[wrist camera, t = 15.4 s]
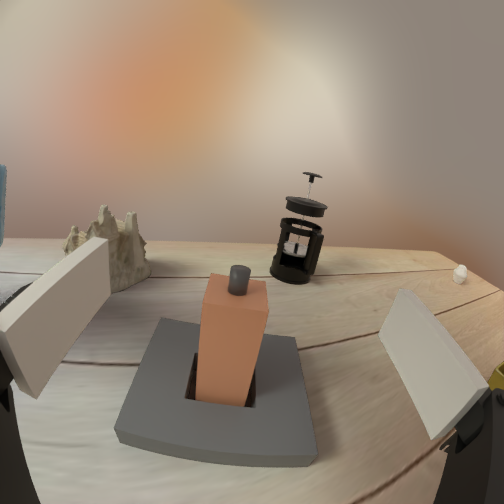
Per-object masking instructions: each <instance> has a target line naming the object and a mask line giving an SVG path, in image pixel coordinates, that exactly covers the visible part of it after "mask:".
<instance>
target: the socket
mask: <svg viewBox="0 0 504 504" xmlns="http://www.w3.org/2000/svg"><path fill="white" fill-rule="evenodd" d="M200 326H201V325H199V324H193V323H188V322H182V321H177V320H172V319H167V318H162V317H161V319H160V321H159V324H158V326H157V328H156V330H155V332H154V334H153V336H152V339H151V341H150V343H149V345H148V347H147V350H146V352H145V354H144V356H143V359H142V361H141V363H140V366H139V368H138V370H137V372H136V375H135V377H134V379H133V382H132V384H131V387H130V389H129V391H128V394H127V396H126V399H125V401H124V404H123V406H122V409H121V411H120V414H119V416H118V419H117V421H116V424H115V426H114V430H115V432H116V434H117V437H118V439H119V441H120V443H123V444H126V445H129V446H133V447H136V448H140V449H144V450H147V451H151V452H155V453H159V454H164V455H168V456H173V457H178V458H183V459H189V460H195V461H201V462H208V463H216V464H225V465H235V466H249V467H308V466H309V464H310V463H311V462H312V461H313V460H314V459H315V457H316V456H317V455H318V451H317V446H316V440H315V435H314V429H313V424H312V419H311V414H310V409H309V404H308V398H307V393H306V388H305V383H304V379H303V374H302V369H301V364H300V359H299V354H298V350H297V345H296V340H295V337H288V336H278V335H269V334H263V337H262V341H261V345H260V349H259V353H258V357H257V361H256V365H255V368H254V372H253V376H252V380H251V408H250V407H240V406H231V405H223V404H216V403H209V402H203V401H197V400H191V399H188V394H189V390H190V385H191V380H192V376H193V371H194V370H197V365H198V351H199V338H200Z"/></svg>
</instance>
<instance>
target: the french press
mask: <svg viewBox="0 0 504 504" xmlns="http://www.w3.org/2000/svg"><path fill="white" fill-rule="evenodd" d="M303 174H306V175H310V178H309V182H310V185H309V190H308V194H307V199H306V198H301V197H286V200H287V205H286V209H288V210H290V211H292V212H295V213H298V214H301V215H303V217H302V219H296V218H282V219H281V223H280V227H281V228H282V229H281V234H280V239H279V243H278V244H277V245H278V248H277V253H276V255H274V257H273V261H272V266H271V267H270V273H271V275H272V276H273V277H275V278H276V279H278V280H280V281H282V282H286V283H290V284H305V283H308V282H309V280H310V275H313V274H314V272H315V268H316V265H317V261H318V257H319V254H320V250H321V246H322V242H323V238H324V235H322V234H321V232H322V228H321V227H320V226H318V225H317V224H314V223H312V222H309V221H306V220H304V216H305V215H306V216H310V217H323V215H324V211H325V209H327V206H326V205H324V204H321V203H319V202H316V201H314V200H311V199H308V198H309V193H310V188H311V184H312V183H313V181H314V177H320V178H322V177H321V176H320V175H317V174H314V173H309V172H304V173H303ZM292 224H298V225H301V226H300V228H296V227H293V226H292ZM302 226H306V227H309V228H312V231H310V230H304V229H302ZM290 233H293V234H297V235H298V239H297V243H295V242H289V241H288V240H289V235H290ZM300 235H301V236H306V237H310V239H309V243H308V246H306V245H303V244H300V243H298V242H299V238H300ZM288 267H290V268H288ZM292 268H294V269H292Z"/></svg>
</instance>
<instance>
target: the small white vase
mask: <svg viewBox="0 0 504 504" xmlns="http://www.w3.org/2000/svg"><path fill="white" fill-rule="evenodd" d="M466 270H467V268H466V267H465V266H464V265H459V267H458V268H456V269H454V273H453V279H454V282H455V283H457V284H461V283H462V282H463V281H464V280H465V279H466V278H467V272H466Z"/></svg>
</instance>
